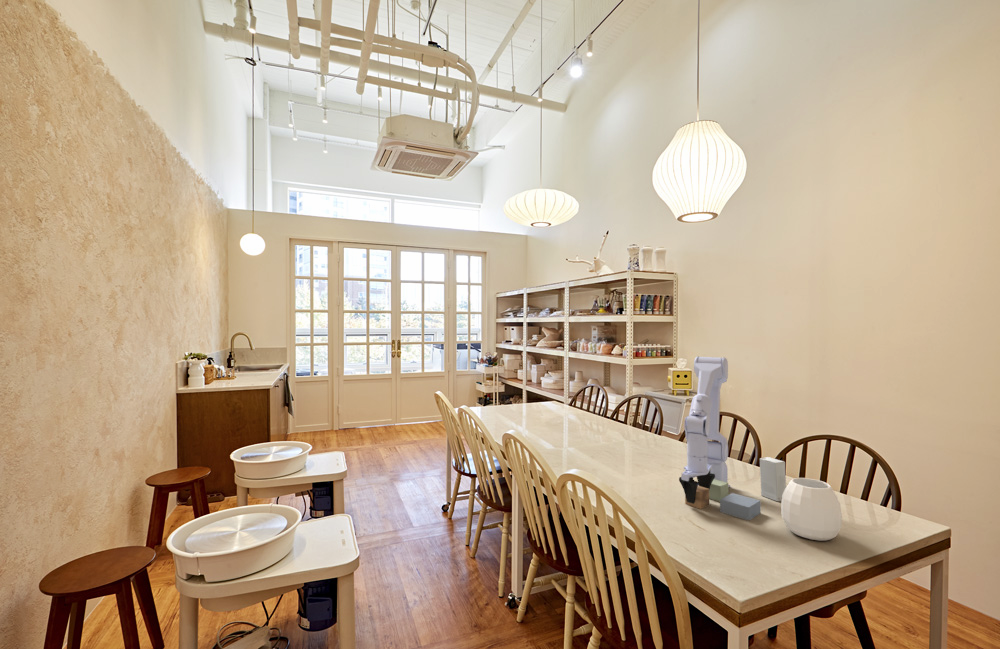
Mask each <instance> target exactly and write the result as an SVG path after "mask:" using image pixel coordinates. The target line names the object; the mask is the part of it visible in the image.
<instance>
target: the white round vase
mask: <svg viewBox="0 0 1000 649" xmlns="http://www.w3.org/2000/svg"><path fill="white" fill-rule="evenodd" d="M780 502H781V503H780V508H781V509H780V513H781V517H782V520H783V522H784V524H785V526H786V528H788V529H789V531H791V532H792V533H793V534H794V535H796V536H799V537H802V538H805V539H807V540H808V539H809V540H813V541H814V540H815V541H819V542H820V541H829V540H832V539H835V537H837V536H838V535H839V532H840V530H841V528H842V523H843V522H842V521H843V520H842V518H843V517H842V516H843V515H842V514H843V513H842V506H841V502H840V500H839V498H838V495H837V494H836V492H835V491H834V489H833V487H832V486H831V485H830V483H828V482H825V481H822V480H820V479H814V478H810V477H809V478H808V477H795V478H792V479H791V480H790V481H789V482H788V484H786V488H785V490H784V492H783V495H782V501H780Z"/></svg>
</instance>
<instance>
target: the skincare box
mask: <svg viewBox="0 0 1000 649" xmlns="http://www.w3.org/2000/svg"><path fill="white" fill-rule="evenodd" d="M759 473H760V474H759V476H760V494H761V496H762V497H765V498H767V499H771V500H772V501H775V502H782V495H783V492H784V490H785V488H786V486H787V482H786V481H787V480H786V478H787V477H786V462H785V461H784V460H780V459H777V458H773V457H770V456H766V457H760V458H759Z"/></svg>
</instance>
